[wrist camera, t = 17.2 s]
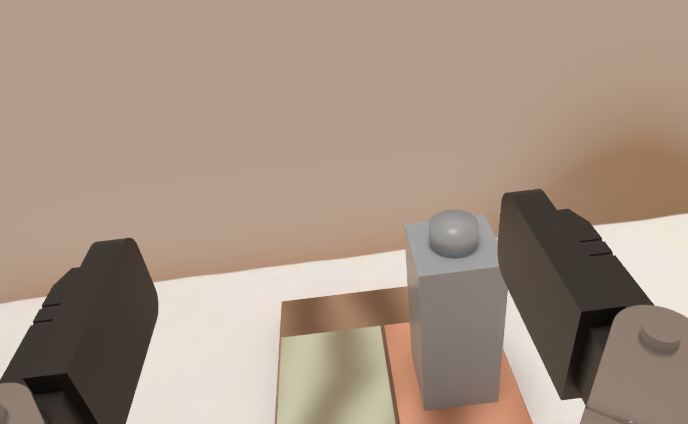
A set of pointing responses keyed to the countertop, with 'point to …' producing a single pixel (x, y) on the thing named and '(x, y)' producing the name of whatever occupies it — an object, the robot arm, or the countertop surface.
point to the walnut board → (366, 366)
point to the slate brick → (455, 309)
